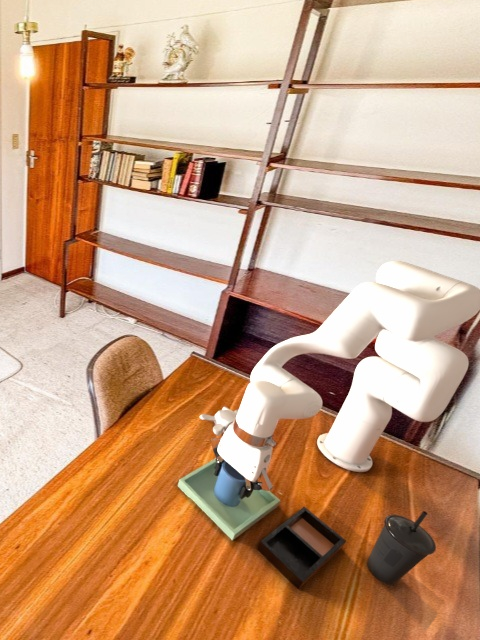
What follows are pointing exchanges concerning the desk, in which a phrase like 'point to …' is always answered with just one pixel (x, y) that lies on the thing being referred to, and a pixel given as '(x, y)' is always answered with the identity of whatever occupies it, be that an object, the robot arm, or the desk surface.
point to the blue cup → (229, 485)
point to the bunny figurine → (221, 419)
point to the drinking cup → (399, 548)
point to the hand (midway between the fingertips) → (231, 483)
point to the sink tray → (224, 516)
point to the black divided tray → (301, 546)
